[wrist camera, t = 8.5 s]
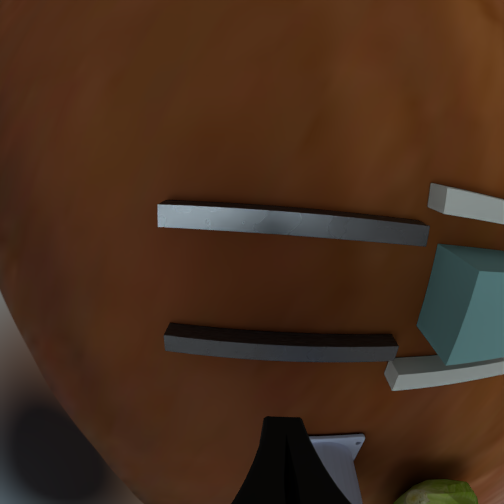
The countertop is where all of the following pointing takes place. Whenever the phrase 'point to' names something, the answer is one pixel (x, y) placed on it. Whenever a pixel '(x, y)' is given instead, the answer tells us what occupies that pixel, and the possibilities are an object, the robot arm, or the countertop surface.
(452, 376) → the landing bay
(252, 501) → the robot arm
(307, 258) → the countertop surface
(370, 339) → the parallel guide rails
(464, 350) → the teal block
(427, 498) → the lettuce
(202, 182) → the countertop surface
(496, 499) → the countertop surface
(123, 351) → the countertop surface
